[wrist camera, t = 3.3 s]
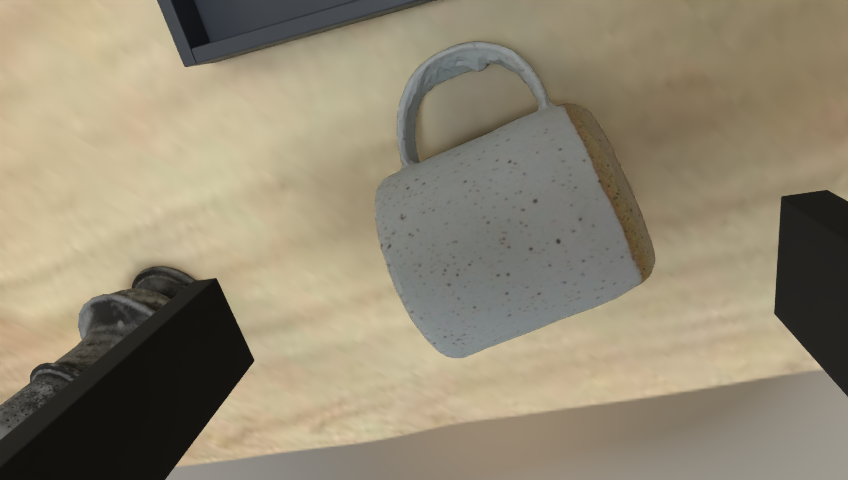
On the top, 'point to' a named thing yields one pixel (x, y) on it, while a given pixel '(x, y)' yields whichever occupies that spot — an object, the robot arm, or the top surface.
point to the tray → (260, 23)
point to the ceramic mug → (507, 217)
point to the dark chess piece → (95, 338)
